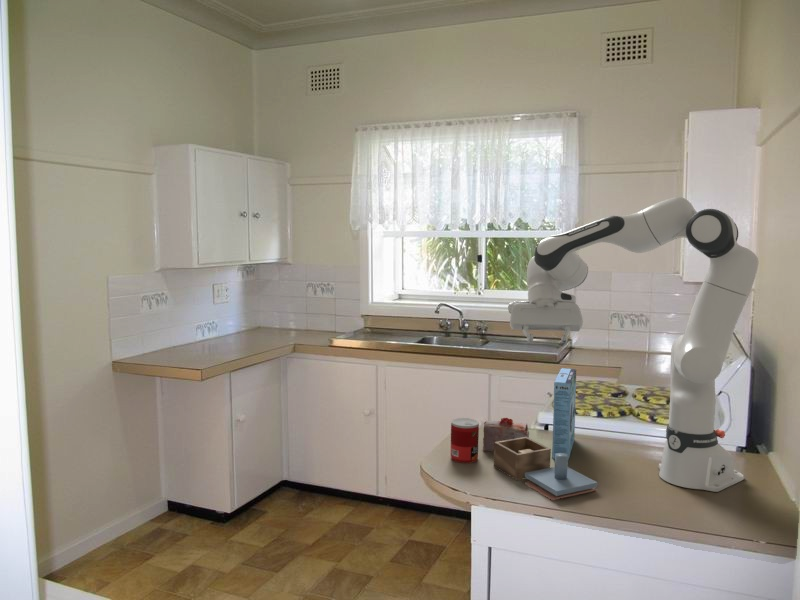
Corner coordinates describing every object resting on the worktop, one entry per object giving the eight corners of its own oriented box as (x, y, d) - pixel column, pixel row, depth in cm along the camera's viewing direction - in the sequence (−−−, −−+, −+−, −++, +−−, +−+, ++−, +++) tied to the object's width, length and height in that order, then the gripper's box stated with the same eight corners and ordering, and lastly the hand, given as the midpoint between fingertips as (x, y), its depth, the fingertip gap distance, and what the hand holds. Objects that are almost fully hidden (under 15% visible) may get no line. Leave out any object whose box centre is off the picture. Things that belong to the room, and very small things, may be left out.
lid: (563, 472, 178) (564, 443, 177) (597, 490, 166) (598, 459, 165) (524, 480, 172) (525, 450, 171) (556, 499, 161) (557, 467, 160)
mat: (567, 475, 178) (567, 473, 177) (595, 490, 168) (595, 488, 168) (525, 484, 172) (525, 482, 171) (551, 500, 162) (551, 498, 162)
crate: (525, 460, 189) (526, 436, 188) (549, 473, 179) (550, 449, 178) (493, 466, 184) (494, 442, 183) (516, 480, 174) (517, 455, 173)
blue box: (568, 461, 188) (571, 383, 185) (550, 458, 190) (553, 382, 187) (574, 439, 206) (577, 369, 203) (558, 437, 208) (561, 367, 205)
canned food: (476, 464, 185) (477, 427, 184) (448, 462, 187) (449, 425, 185) (479, 455, 192) (479, 418, 191) (452, 452, 194) (452, 417, 193)
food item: (528, 447, 199) (529, 416, 198) (528, 456, 192) (529, 424, 190) (483, 444, 202) (484, 413, 201) (481, 453, 194) (482, 421, 193)
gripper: (508, 294, 189) (510, 334, 180) (580, 296, 187) (586, 335, 179) (507, 307, 194) (509, 346, 185) (577, 309, 192) (582, 348, 184)
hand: (547, 341), depth 182 cm, fingers open, 8 cm apart
